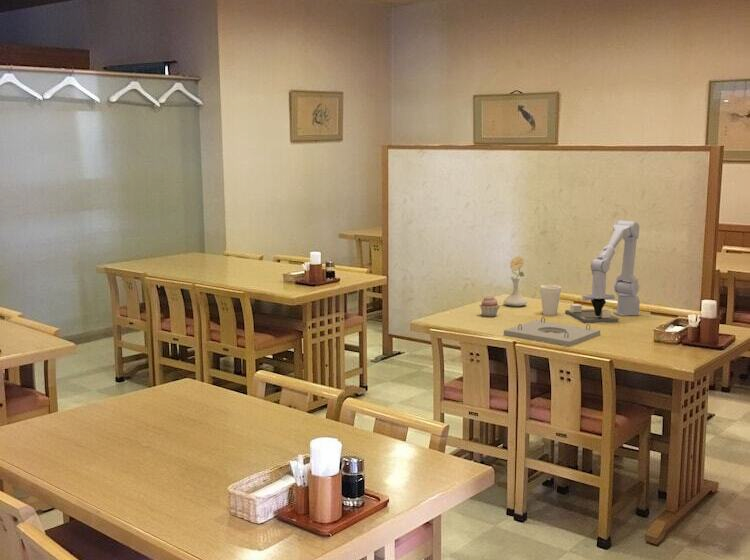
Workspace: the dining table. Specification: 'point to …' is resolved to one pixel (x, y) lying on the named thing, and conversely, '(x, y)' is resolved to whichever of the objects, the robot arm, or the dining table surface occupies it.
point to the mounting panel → (559, 336)
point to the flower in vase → (516, 284)
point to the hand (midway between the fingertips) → (597, 315)
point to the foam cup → (550, 299)
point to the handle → (575, 307)
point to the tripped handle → (605, 313)
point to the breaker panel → (589, 316)
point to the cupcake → (489, 306)
